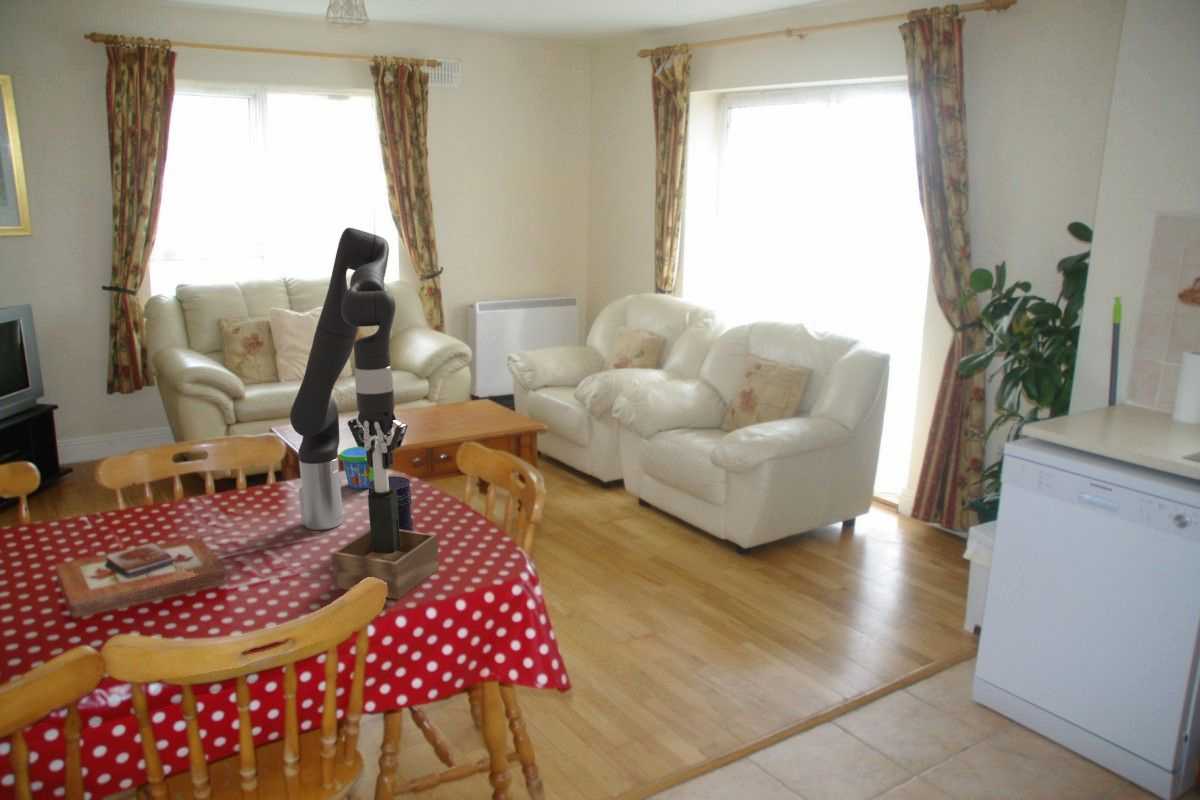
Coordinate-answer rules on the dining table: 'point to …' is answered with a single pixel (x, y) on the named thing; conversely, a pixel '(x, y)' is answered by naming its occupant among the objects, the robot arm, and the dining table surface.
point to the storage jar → (400, 500)
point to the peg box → (387, 562)
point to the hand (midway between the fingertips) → (380, 466)
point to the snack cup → (357, 467)
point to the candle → (383, 509)
